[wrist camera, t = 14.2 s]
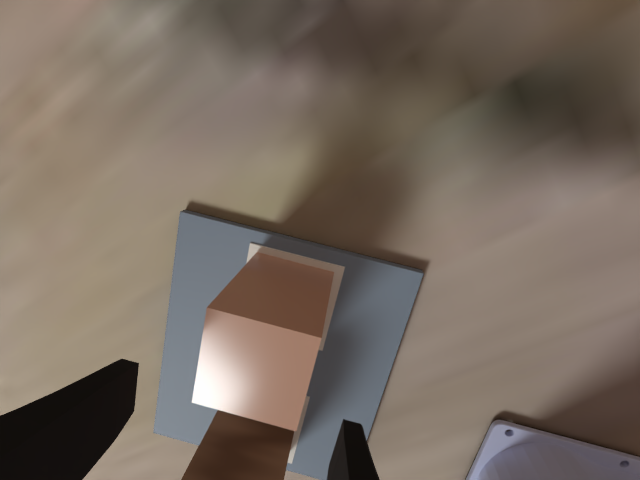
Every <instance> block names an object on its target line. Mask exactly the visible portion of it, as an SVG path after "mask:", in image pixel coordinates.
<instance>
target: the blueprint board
mask: <svg viewBox="0 0 640 480" xmlns="http://www.w3.org/2000/svg"><path fill="white" fill-rule="evenodd" d="M256 252H259V253H263V254H267V255H271V256H274V257H278V258H282V259H286V260H290V261H294V262H298V263H301V264H305V265H309V266H313V267H317V268H321V269H324V270H328V271H332V272H334V276H333V281H332V286H331V292H330V297H329V302H328V307H327V313H326V318H325V323H324V328H323V334H322V339H321V342H320V346H319V350H318V353H317V357H316V361H315V365H314V368H313V372H312V376H311V379H310V383H309V387H308V390H307V394H306V398H305V402H304V405H303V409H302V413H301V416H300V420H299V424H298V427H297V431H294V435H293V440H292V444H291V449H290V453H289V458H288V462H287V467H286V470H288V471H292V472H295V473H299V474H303V475H306V476H310V477H313V478H317V479H320V480H327V475H328V468H329V463H330V460H331V457H332V453H333V450H334V447H335V444H336V440H337V437H338V434H339V431H340V428H341V424H342V421H343V419H345V420H349V421H352V422H356V423H360V424H361V425H362V427H363V429H364V433H365V437H366V441H367V438H368V435H369V433H370V430H371V427H372V424H373V421H374V418H375V415H376V412H377V409H378V406H379V403H380V400H381V397H382V394H383V391H384V388H385V386H386V383H387V380H388V377H389V374H390V371H391V368H392V365H393V362H394V359H395V356H396V353H397V350H398V347H399V344H400V342H401V339H402V336H403V333H404V330H405V327H406V324H407V321H408V318H409V315H410V312H411V309H412V306H413V303H414V300H415V297H416V295H417V292H418V289H419V286H420V283H421V280H422V277H423V272H422V270H420V269H416V268H412V267H408V266H404V265H400V264H396V263H392V262H389V261H385V260H381V259H377V258H373V257H369V256H365V255H361V254H357V253H353V252H349V251H345V250H341V249H338V248H334V247H330V246H326V245H322V244H318V243H314V242H310V241H306V240H302V239H298V238H294V237H290V236H287V235H283V234H279V233H275V232H271V231H267V230H263V229H259V228H255V227H251V226H247V225H243V224H239V223H236V222H232V221H228V220H224V219H220V218H216V217H212V216H208V215H204V214H200V213H196V212H192V211H188V210H183V211H181V212H180V217H179V226H178V234H177V242H176V250H175V259H174V267H173V275H172V284H171V292H170V300H169V308H168V317H167V325H166V333H165V341H164V350H163V358H162V366H161V375H160V383H159V391H158V399H157V408H156V416H155V424H154V433H156V434H160V435H163V436H167V437H170V438H174V439H177V440H181V441H185V442H188V443H192V444H195V445H200V443H201V441H202V439H203V437H204V435H205V433H206V431H207V430H208V428H209V426H210V424H211V422H212V420H213V418H214V416H215V414H216V412H217V409H213V408H210V407H206V406H203V405H199V404H195V403H192V398H193V391H194V385H195V379H196V372H197V366H198V360H199V353H200V347H201V341H202V335H203V328H204V322H205V316H206V309H207V307H208V306H209V304H210V303H211V302H212V301H213V300H214V299H215V298H216V297H217V296H218V294H219V293H220V292H221V291H222V290H223V289H224V288H225V287H226V286H227V285H228V283H229V282H230V281H231V280H232V279H233V278H234V277H235V276H236V275H237V273H238V272H239V271H240V270H241V269H242V268H243V267H244V266H245V265H246V264H247V262H248V261H249V260H250V259H251V258H252V257H253V256H254V255H255V254H256Z"/></svg>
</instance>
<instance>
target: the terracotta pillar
mask: <svg viewBox="0 0 640 480" xmlns="http://www.w3.org/2000/svg"><path fill="white" fill-rule="evenodd" d="M333 276H334V272H332V271H328V270H324V269H321V268H317V267H313V266H309V265H305V264H301V263H298V262H294V261H290V260H286V259H282V258H278V257H274V256H271V255H267V254H263V253H259V252H256V254H255V255H254V256H253V257H252V258H251V259H250V260H249V261H248V262H247V264H246V265H245V266H244V267H243V268H242V269H241V270H240V271H239V272H238V273H237V275H236V276H235V277H234V278H233V279H232V280H231V281H230V282H229V283H228V285H227V286H226V287H225V288H224V289H223V290H222V291H221V292H220V293H219V294H218V296H217V297H216V298H215V299H214V300H213V301H212V302H211V303H210V304H209V306H208V307H207V309H206V316H205V322H204V328H203V335H202V341H201V347H200V353H199V360H198V366H197V372H196V379H195V385H194V391H193V398H192V403H195V404H199V405H203V406H206V407H210V408H213V409H217V410H221V411H224V412H228V413H231V414H235V415H239V416H242V417H246V418H249V419H253V420H257V421H260V422H264V423H267V424H271V425H275V426H278V427H282V428H285V429H289V430H293V431H297V427H298V424H299V420H300V416H301V413H302V409H303V405H304V402H305V398H306V394H307V390H308V387H309V383H310V379H311V376H312V372H313V368H314V365H315V361H316V357H317V353H318V350H319V346H320V342H321V339H322V334H323V328H324V323H325V318H326V313H327V307H328V302H329V297H330V292H331V286H332V281H333Z"/></svg>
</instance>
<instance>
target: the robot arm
mask: <svg viewBox="0 0 640 480" xmlns="http://www.w3.org/2000/svg"><path fill="white" fill-rule="evenodd" d="M138 366H139V363H136V362H132V361H128V360H125V359H120V360H118V361H116V362H114V363H112V364H110V365H108V366H106V367H104V368H102V369H100V370H98V371H96V372H94V373H92V374H90V375H88V376H86V377H84V378H82V379H80V380H78V381H76V382H74V383H72V384H70V385H68V386H66V387H64V388H62V389H60V390H58V391H56V392H54V393H52V394H49V395H47V396H45V397H43V398H41V399H38V400H36V401H34V402H32V403H29V404H27V405H25V406H23V407H21V408H18V409H16V410H13V411H11V412H9V413H6V414H4V415H1V416H0V480H82V479H83V478H84V477H85V476H86V475H87V473H88V472H89V471H90V470H91V469H92V467H93V466H94V465H95V464H96V463H97V461H98V460H99V459H100V458H101V457H102V455H103V454H104V453H105V452H106V450H107V449H108V448H109V447H110V446H111V444H112V443H113V442H114V441H115V439H116V438H117V436H118V435H119V433H120V432H121V430H122V429H123V427H124V426H125V424H126V423H127V421H128V420H129V418H130V417H131V415H132V414H133V412H134V406H135V396H136V386H137V376H138ZM506 430H510V431H508V432H507V431H506ZM327 480H379V477H378V474H377V472H376V469H375V466H374V463H373V460H372V457H371V454H370V451H369V447H368V444H367V441H366V437H365V433H364V429H363V427H362V425H361V424H360V423H356V422H352V421H349V420H345V419H343V421H342V424H341V428H340V431H339V434H338V437H337V440H336V444H335V447H334V450H333V453H332V457H331V460H330V463H329V468H328V475H327ZM466 480H640V457H638V456H634V455H630V454H627V453H623V452H619V451H615V450H612V449H608V448H604V447H600V446H597V445H593V444H589V443H586V442H582V441H578V440H574V439H571V438H567V437H563V436H559V435H556V434H552V433H548V432H545V431H541V430H537V429H533V428H530V427H526V426H522V425H518V424H515V423H511V422H507V421H504V420H495V421H494V422H493V423H492V424H491V426H490V428H489V430H488V432H487V434H486V437H485V439H484V441H483V443H482V445H481V447H480V450H479V452H478V454H477V456H476V458H475V460H474V463H473V465H472V467H471V469H470V471H469V473H468V476H467V478H466Z"/></svg>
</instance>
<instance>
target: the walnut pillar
mask: <svg viewBox="0 0 640 480" xmlns="http://www.w3.org/2000/svg"><path fill="white" fill-rule="evenodd" d="M293 435H294V431H293V430H289V429H285V428H282V427H278V426H275V425H271V424H267V423H264V422H260V421H257V420H253V419H249V418H246V417H242V416H239V415H235V414H231V413H228V412H224V411H221V410H217V412H216V414H215V416H214V418H213V420H212V422H211V424H210V426H209V428H208V430H207V431H206V433H205V435H204V437H203V439H202V441H201V443H200V445H199V447H198V449H197V451H196V453H195V454H194V456H193V458H192V460H191V462H190V464H189V466H188V468H187V470H186V472H185V474H184V476H183V477H182V479H181V480H284V476H285V471H286V467H287V462H288V458H289V453H290V449H291V444H292V440H293Z"/></svg>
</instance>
